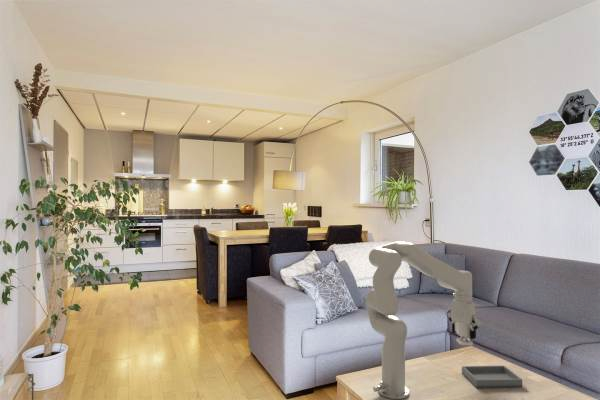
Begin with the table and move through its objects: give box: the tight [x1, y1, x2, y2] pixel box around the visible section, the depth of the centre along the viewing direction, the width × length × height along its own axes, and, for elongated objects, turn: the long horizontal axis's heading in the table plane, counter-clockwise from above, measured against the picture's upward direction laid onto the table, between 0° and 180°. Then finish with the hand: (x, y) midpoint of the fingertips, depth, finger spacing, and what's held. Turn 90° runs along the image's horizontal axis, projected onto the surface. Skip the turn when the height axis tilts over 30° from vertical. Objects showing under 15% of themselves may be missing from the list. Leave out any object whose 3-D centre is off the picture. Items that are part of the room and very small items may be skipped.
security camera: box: [454, 321, 474, 346], centre depth 176 cm, size 6×7×10 cm
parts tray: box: [461, 365, 523, 389], centre depth 172 cm, size 20×14×4 cm
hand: (463, 335), depth 177 cm, fingers closed on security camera, 8 cm apart
